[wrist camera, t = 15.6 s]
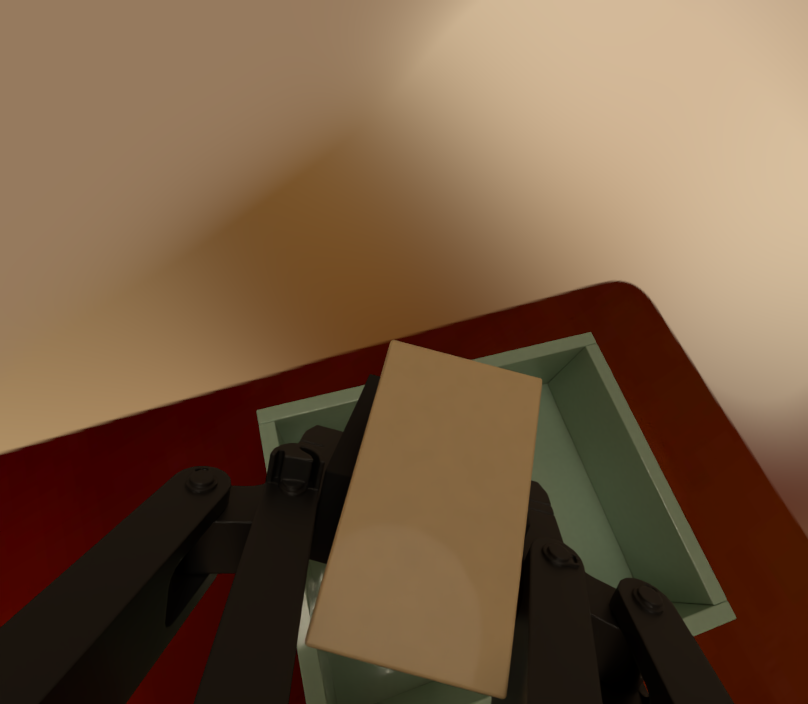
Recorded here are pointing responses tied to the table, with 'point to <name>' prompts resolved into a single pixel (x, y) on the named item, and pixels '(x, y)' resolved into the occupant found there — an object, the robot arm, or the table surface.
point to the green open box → (570, 500)
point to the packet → (434, 523)
